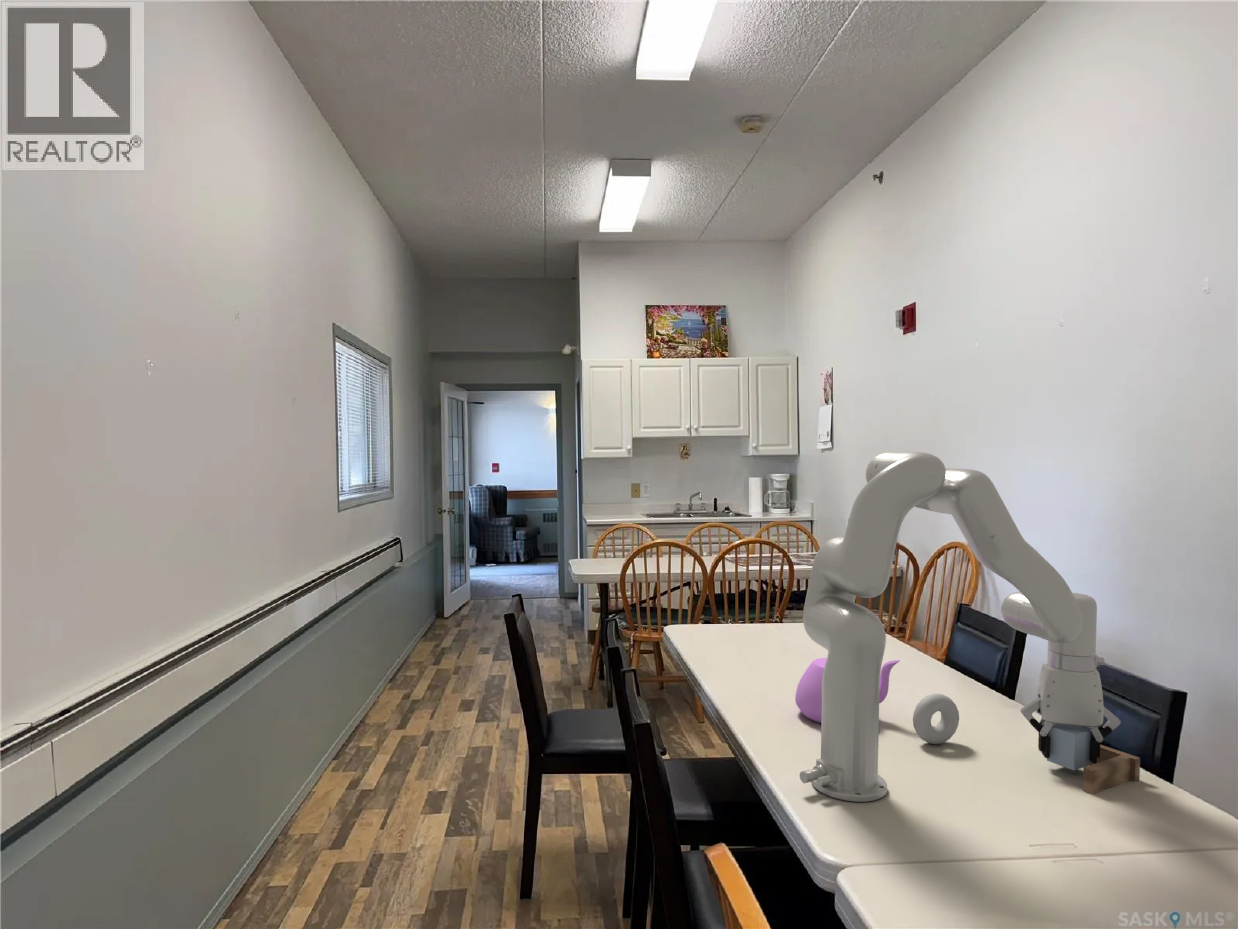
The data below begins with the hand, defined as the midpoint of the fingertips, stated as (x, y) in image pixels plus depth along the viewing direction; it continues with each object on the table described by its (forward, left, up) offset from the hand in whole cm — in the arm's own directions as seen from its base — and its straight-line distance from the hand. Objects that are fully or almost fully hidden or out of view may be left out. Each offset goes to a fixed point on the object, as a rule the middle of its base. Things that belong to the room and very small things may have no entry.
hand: (1068, 757), depth 139 cm
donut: (-11, +20, -3) cm, 23 cm away
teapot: (-16, +39, -3) cm, 42 cm away
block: (0, 0, -1) cm, 1 cm away
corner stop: (+1, -1, -2) cm, 3 cm away
